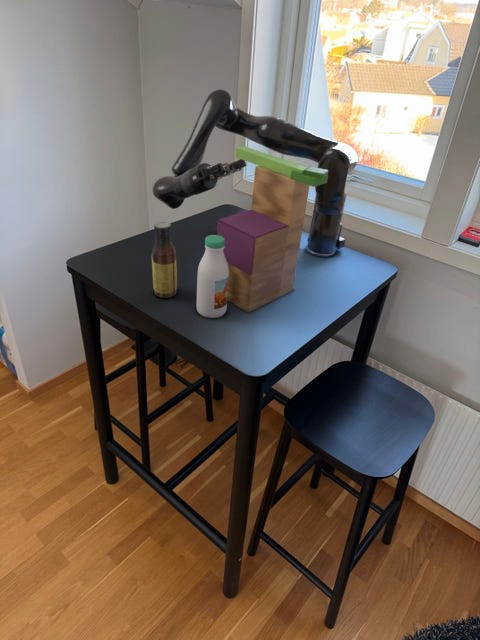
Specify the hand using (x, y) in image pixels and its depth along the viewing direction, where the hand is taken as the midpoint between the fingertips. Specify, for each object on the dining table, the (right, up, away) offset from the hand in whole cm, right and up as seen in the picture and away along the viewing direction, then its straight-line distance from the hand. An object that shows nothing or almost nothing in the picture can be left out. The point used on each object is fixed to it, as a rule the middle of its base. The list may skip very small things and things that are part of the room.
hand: (233, 164), depth 126 cm
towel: (+4, -26, -5) cm, 27 cm away
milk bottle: (-6, -39, -6) cm, 40 cm away
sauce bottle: (-18, -35, -1) cm, 39 cm away
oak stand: (+6, -34, +4) cm, 34 cm away
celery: (+11, -5, -10) cm, 16 cm away
